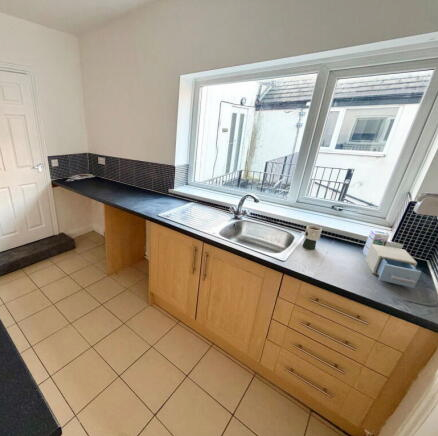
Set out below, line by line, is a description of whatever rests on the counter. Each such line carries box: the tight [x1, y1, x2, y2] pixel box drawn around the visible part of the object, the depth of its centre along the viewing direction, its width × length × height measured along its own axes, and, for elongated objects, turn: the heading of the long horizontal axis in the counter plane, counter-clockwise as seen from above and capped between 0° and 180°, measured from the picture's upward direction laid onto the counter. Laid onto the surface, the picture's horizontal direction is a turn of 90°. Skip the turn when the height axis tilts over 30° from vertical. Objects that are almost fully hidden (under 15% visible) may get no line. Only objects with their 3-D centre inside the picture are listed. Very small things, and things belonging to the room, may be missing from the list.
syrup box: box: [362, 229, 390, 258], centre depth 128 cm, size 6×6×14 cm
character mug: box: [302, 224, 323, 251], centre depth 136 cm, size 11×7×13 cm, turn 148°
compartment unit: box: [365, 244, 418, 276], centre depth 116 cm, size 15×13×10 cm
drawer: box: [376, 258, 422, 289], centre depth 108 cm, size 18×11×8 cm, turn 150°
